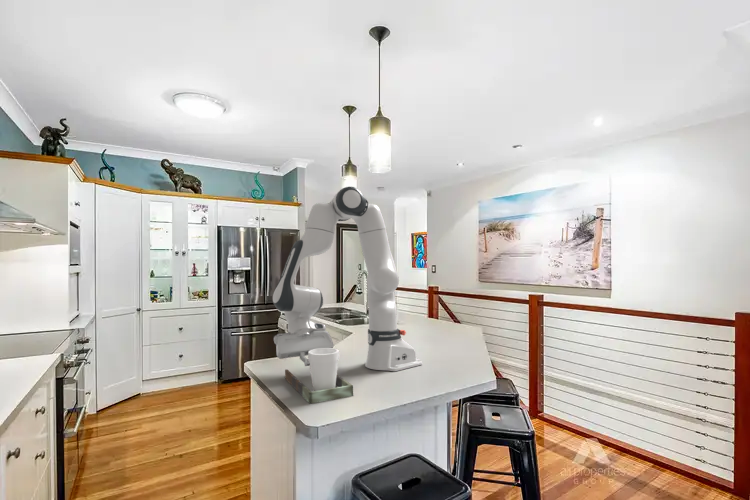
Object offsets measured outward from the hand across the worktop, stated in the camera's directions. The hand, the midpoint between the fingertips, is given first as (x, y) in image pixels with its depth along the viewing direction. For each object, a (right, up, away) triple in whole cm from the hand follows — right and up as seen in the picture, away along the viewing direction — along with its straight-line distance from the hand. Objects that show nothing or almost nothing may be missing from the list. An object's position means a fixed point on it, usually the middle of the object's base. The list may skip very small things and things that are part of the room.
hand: (309, 364), depth 129 cm
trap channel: (+3, -5, -7) cm, 9 cm away
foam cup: (+7, -5, -14) cm, 16 cm away
